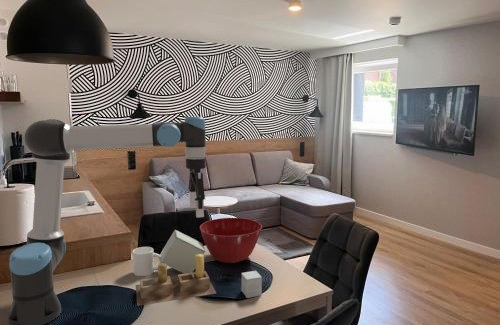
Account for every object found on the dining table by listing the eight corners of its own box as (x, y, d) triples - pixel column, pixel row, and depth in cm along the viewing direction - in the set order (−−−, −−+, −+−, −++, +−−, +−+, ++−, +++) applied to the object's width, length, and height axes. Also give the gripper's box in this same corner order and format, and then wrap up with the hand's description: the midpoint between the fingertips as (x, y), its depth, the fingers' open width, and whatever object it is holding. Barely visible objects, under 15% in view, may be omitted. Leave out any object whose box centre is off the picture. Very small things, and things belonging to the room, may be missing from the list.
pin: (196, 287, 141) (196, 257, 139) (195, 284, 144) (194, 254, 142) (204, 286, 142) (204, 256, 140) (203, 282, 145) (202, 253, 143)
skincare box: (241, 290, 141) (241, 272, 140) (256, 288, 143) (256, 270, 142) (246, 298, 135) (246, 279, 134) (262, 295, 138) (262, 276, 137)
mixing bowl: (192, 251, 179) (192, 220, 177) (246, 243, 191) (246, 214, 189) (211, 275, 154) (211, 239, 152) (272, 263, 166) (272, 230, 164)
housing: (161, 262, 149) (176, 236, 149) (160, 253, 158) (174, 229, 158) (190, 276, 153) (205, 251, 153) (187, 266, 162) (202, 243, 162)
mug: (164, 269, 159) (164, 246, 158) (160, 278, 151) (160, 254, 150) (136, 269, 159) (135, 246, 157) (131, 278, 151) (130, 254, 149)
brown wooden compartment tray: (137, 308, 128) (136, 278, 126) (135, 287, 143) (134, 260, 141) (216, 295, 137) (216, 267, 135) (207, 277, 152) (206, 251, 150)
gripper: (212, 161, 130) (213, 220, 133) (199, 153, 154) (199, 203, 157) (191, 162, 128) (192, 222, 131) (180, 154, 151) (182, 205, 154)
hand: (196, 212), depth 144 cm, fingers open, 13 cm apart
